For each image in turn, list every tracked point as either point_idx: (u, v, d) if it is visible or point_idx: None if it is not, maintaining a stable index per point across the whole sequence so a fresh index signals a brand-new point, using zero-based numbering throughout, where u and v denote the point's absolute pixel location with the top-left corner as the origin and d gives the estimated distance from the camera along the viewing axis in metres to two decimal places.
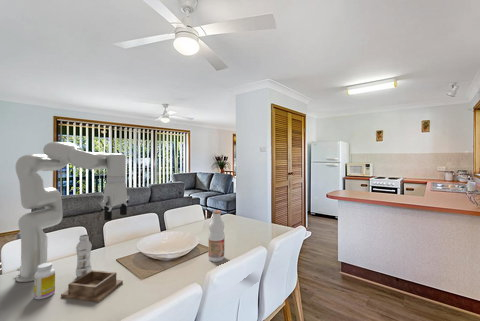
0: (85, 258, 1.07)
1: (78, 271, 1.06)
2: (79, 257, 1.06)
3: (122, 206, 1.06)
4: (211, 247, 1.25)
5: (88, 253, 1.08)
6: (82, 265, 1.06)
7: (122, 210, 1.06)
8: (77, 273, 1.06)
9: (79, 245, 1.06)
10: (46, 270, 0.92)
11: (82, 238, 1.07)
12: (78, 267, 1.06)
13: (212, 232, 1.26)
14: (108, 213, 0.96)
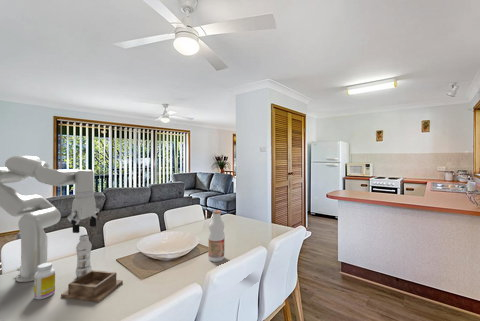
0: (85, 258, 1.07)
1: (78, 271, 1.06)
2: (79, 257, 1.06)
3: (92, 218, 1.13)
4: (211, 247, 1.25)
5: (88, 253, 1.08)
6: (82, 265, 1.06)
7: (92, 222, 1.13)
8: (77, 273, 1.06)
9: (79, 245, 1.06)
10: (46, 270, 0.92)
11: (82, 238, 1.07)
12: (78, 267, 1.06)
13: (212, 232, 1.26)
14: (76, 226, 1.03)
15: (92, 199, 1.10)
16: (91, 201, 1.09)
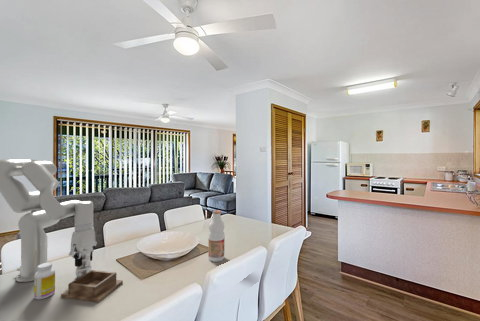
0: (85, 258, 1.07)
1: (78, 271, 1.06)
2: None
3: None
4: (211, 247, 1.25)
5: (88, 253, 1.08)
6: (82, 264, 1.06)
7: None
8: (77, 273, 1.06)
9: None
10: (46, 270, 0.92)
11: None
12: (78, 267, 1.06)
13: (212, 232, 1.26)
14: (78, 260, 1.05)
15: (91, 230, 1.10)
16: (90, 233, 1.10)
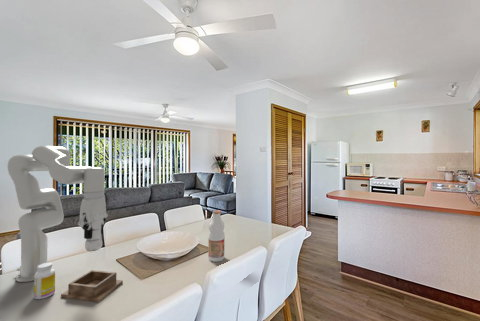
0: (95, 230, 0.96)
1: (88, 244, 0.94)
2: None
3: None
4: (211, 247, 1.25)
5: (99, 224, 0.97)
6: (92, 237, 0.95)
7: None
8: (87, 246, 0.94)
9: None
10: (46, 270, 0.92)
11: None
12: (88, 239, 0.95)
13: (212, 232, 1.26)
14: (88, 231, 0.94)
15: (102, 200, 0.99)
16: (101, 202, 0.98)
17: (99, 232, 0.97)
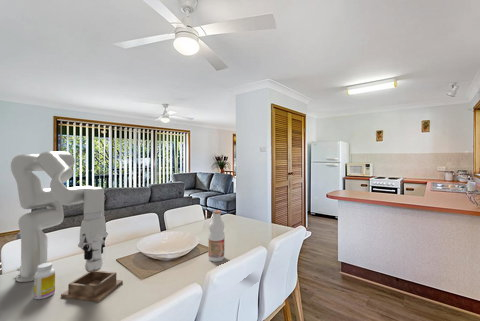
0: (96, 250, 0.96)
1: (88, 265, 0.94)
2: None
3: None
4: (211, 247, 1.25)
5: (99, 245, 0.97)
6: (92, 257, 0.95)
7: None
8: (87, 267, 0.94)
9: None
10: (46, 270, 0.92)
11: None
12: (88, 260, 0.95)
13: (212, 232, 1.26)
14: (88, 252, 0.94)
15: (102, 220, 0.99)
16: (101, 222, 0.98)
17: (99, 252, 0.97)
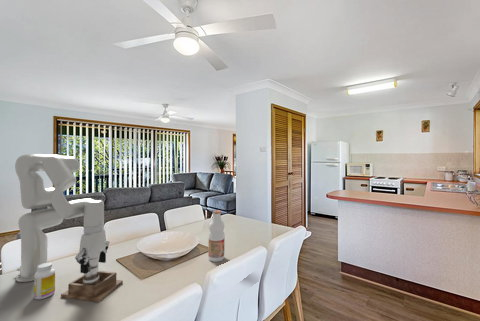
0: (93, 268, 0.95)
1: (85, 283, 0.94)
2: None
3: (101, 253, 1.02)
4: (211, 247, 1.25)
5: (96, 262, 0.96)
6: (89, 275, 0.94)
7: (101, 258, 1.02)
8: None
9: None
10: (46, 270, 0.92)
11: None
12: (85, 278, 0.94)
13: (212, 232, 1.26)
14: (84, 266, 0.92)
15: (102, 233, 0.99)
16: (101, 235, 0.98)
17: (96, 270, 0.96)
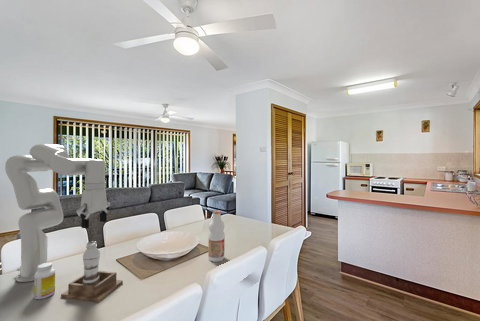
0: (93, 268, 0.95)
1: (85, 283, 0.94)
2: (86, 267, 0.94)
3: (102, 213, 1.04)
4: (211, 247, 1.25)
5: (96, 262, 0.96)
6: (89, 275, 0.94)
7: (102, 217, 1.03)
8: None
9: (86, 253, 0.94)
10: (46, 270, 0.92)
11: (90, 245, 0.95)
12: (85, 278, 0.94)
13: (212, 232, 1.26)
14: (85, 221, 0.93)
15: (103, 192, 1.01)
16: (102, 194, 1.00)
17: (96, 270, 0.96)
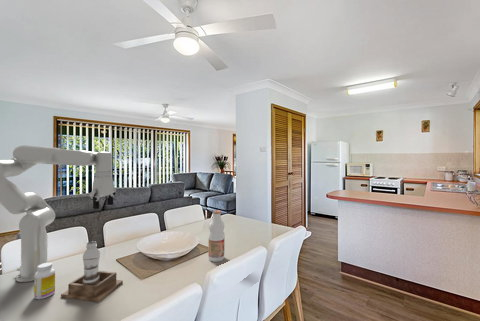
0: (93, 268, 0.95)
1: (85, 283, 0.94)
2: (86, 267, 0.94)
3: (109, 197, 1.23)
4: (211, 247, 1.25)
5: (96, 262, 0.96)
6: (89, 275, 0.94)
7: (109, 201, 1.22)
8: None
9: (86, 253, 0.94)
10: (46, 270, 0.92)
11: (89, 245, 0.95)
12: (85, 278, 0.94)
13: (212, 232, 1.26)
14: (96, 202, 1.12)
15: (110, 179, 1.20)
16: (109, 181, 1.19)
17: (96, 270, 0.96)
